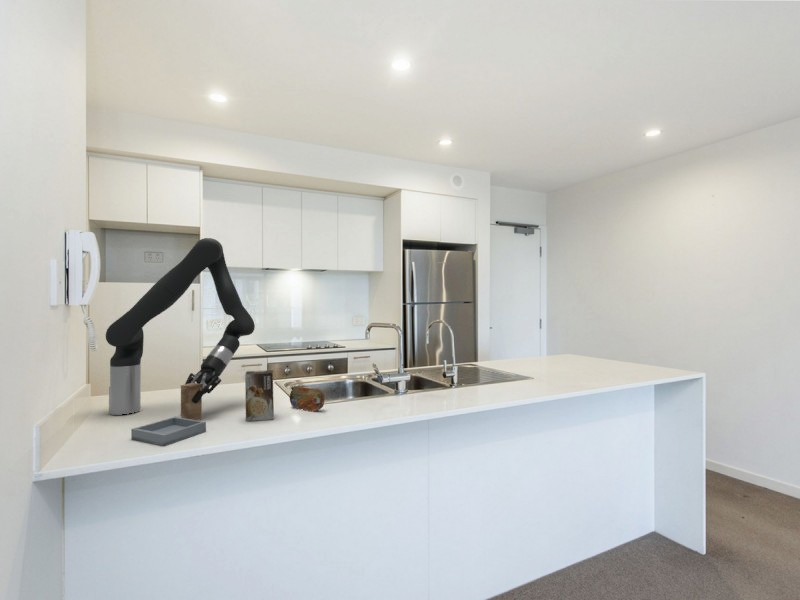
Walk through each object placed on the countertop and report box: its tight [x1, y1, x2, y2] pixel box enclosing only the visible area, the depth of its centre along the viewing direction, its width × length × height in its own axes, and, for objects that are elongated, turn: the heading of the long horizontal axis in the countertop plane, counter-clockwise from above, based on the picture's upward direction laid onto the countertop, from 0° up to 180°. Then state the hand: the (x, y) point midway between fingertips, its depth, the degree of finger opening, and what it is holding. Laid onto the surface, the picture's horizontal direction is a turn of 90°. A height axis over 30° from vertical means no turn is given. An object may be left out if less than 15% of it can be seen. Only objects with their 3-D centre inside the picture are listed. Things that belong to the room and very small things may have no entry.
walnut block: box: [180, 382, 203, 421], centre depth 140 cm, size 4×4×12 cm
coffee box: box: [244, 369, 275, 422], centre depth 142 cm, size 9×6×16 cm
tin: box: [289, 386, 325, 412], centre depth 153 cm, size 15×3×8 cm, turn 62°
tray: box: [130, 416, 207, 447], centre depth 124 cm, size 14×14×3 cm
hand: (188, 401), depth 139 cm, fingers closed on walnut block, 4 cm apart
